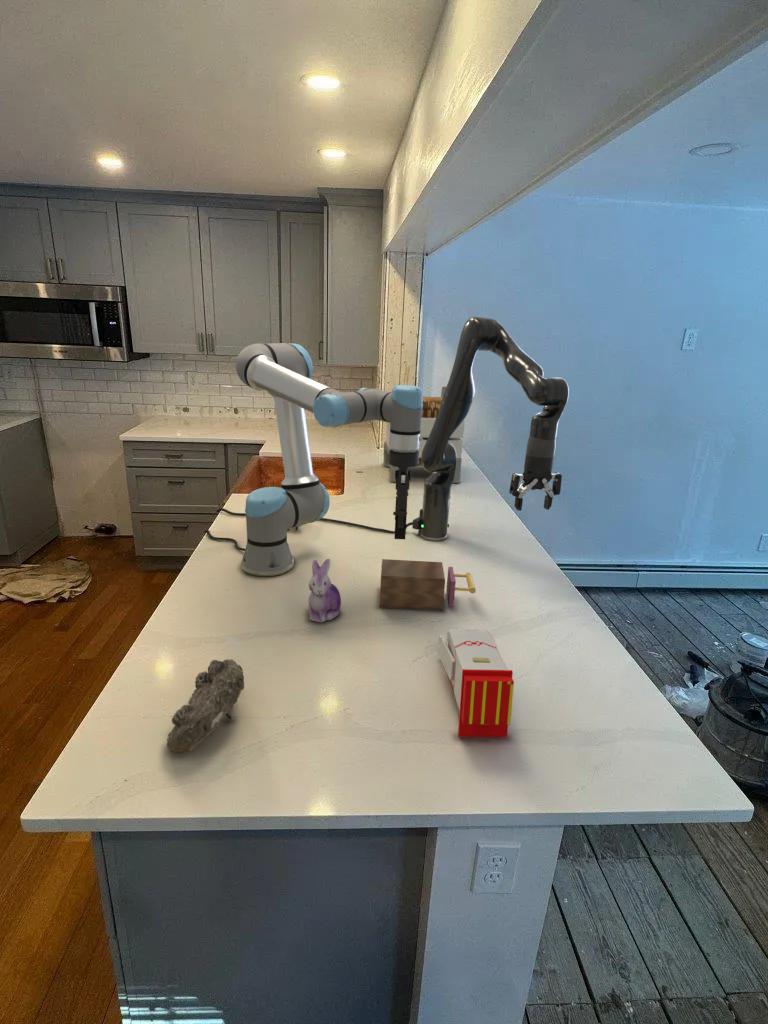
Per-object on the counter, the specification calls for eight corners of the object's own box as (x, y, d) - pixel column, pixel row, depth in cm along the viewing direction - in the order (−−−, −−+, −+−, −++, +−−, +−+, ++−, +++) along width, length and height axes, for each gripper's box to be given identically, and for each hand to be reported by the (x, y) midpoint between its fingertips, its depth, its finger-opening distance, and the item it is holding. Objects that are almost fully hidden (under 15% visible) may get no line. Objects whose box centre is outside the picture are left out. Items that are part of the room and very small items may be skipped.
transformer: (382, 463, 289) (386, 382, 275) (445, 464, 293) (451, 384, 279) (390, 482, 257) (394, 392, 243) (460, 483, 261) (468, 394, 247)
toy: (488, 613, 130) (523, 677, 101) (484, 667, 133) (517, 744, 104) (435, 612, 130) (455, 676, 101) (432, 666, 133) (451, 743, 103)
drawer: (469, 592, 159) (472, 567, 156) (473, 608, 150) (476, 582, 148) (395, 588, 159) (397, 563, 156) (395, 604, 150) (396, 578, 148)
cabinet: (439, 592, 160) (442, 562, 157) (442, 611, 150) (445, 578, 147) (380, 589, 160) (382, 558, 157) (379, 607, 150) (380, 575, 147)
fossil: (192, 660, 117) (244, 628, 112) (224, 691, 120) (276, 661, 115) (142, 746, 98) (202, 712, 93) (182, 779, 101) (242, 748, 96)
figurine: (314, 627, 139) (314, 572, 134) (300, 608, 148) (299, 555, 143) (349, 619, 143) (350, 565, 138) (333, 601, 152) (334, 550, 147)
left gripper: (421, 463, 129) (415, 548, 136) (417, 439, 153) (413, 513, 160) (388, 461, 129) (384, 546, 136) (389, 437, 153) (386, 511, 160)
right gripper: (557, 449, 159) (549, 504, 164) (510, 450, 156) (503, 505, 161) (571, 456, 152) (562, 513, 157) (522, 456, 149) (514, 514, 154)
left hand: (399, 528), depth 148 cm, fingers open, 13 cm apart
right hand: (532, 509), depth 159 cm, fingers open, 8 cm apart
